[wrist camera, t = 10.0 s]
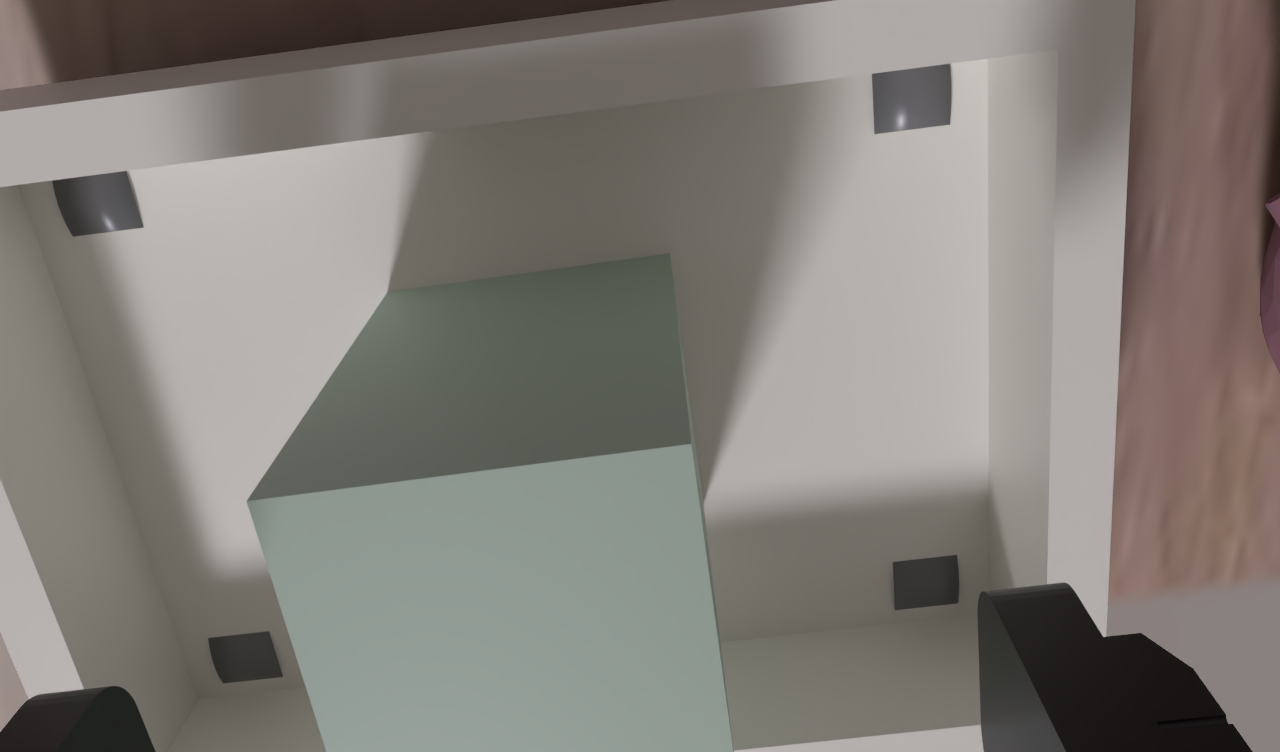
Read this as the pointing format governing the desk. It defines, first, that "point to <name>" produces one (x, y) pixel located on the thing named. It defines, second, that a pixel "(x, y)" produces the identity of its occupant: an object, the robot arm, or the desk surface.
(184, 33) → the desk surface
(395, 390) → the sage block
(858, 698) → the white planter box
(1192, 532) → the desk surface
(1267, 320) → the video game controller
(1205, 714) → the robot arm
